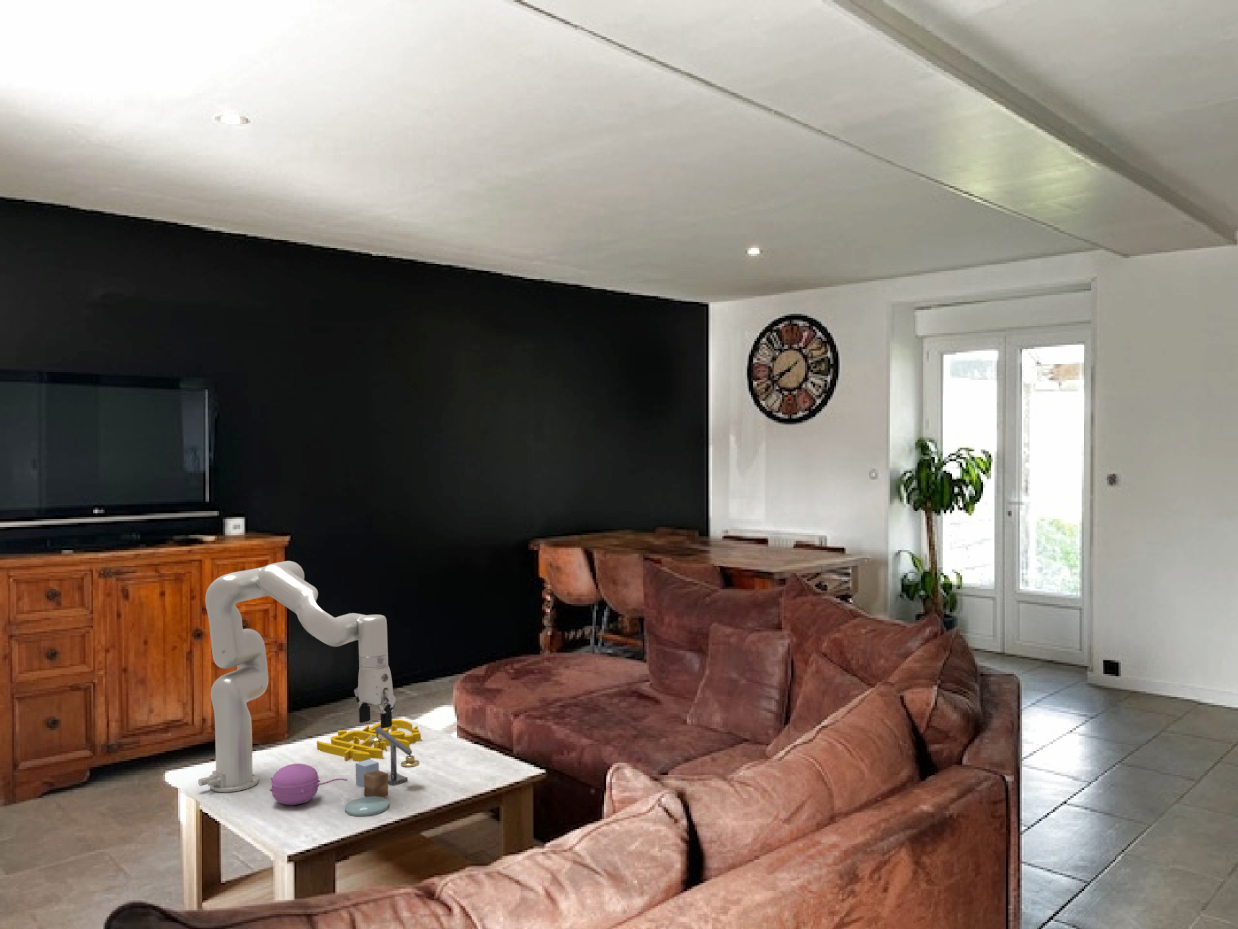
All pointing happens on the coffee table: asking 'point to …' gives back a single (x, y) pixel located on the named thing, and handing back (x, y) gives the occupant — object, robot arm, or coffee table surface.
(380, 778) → the walnut block
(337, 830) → the coffee table surface
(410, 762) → the balance
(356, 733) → the decorative art
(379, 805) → the dish
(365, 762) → the greyblue block
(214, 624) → the robot arm
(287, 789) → the purple ovoid with tail
